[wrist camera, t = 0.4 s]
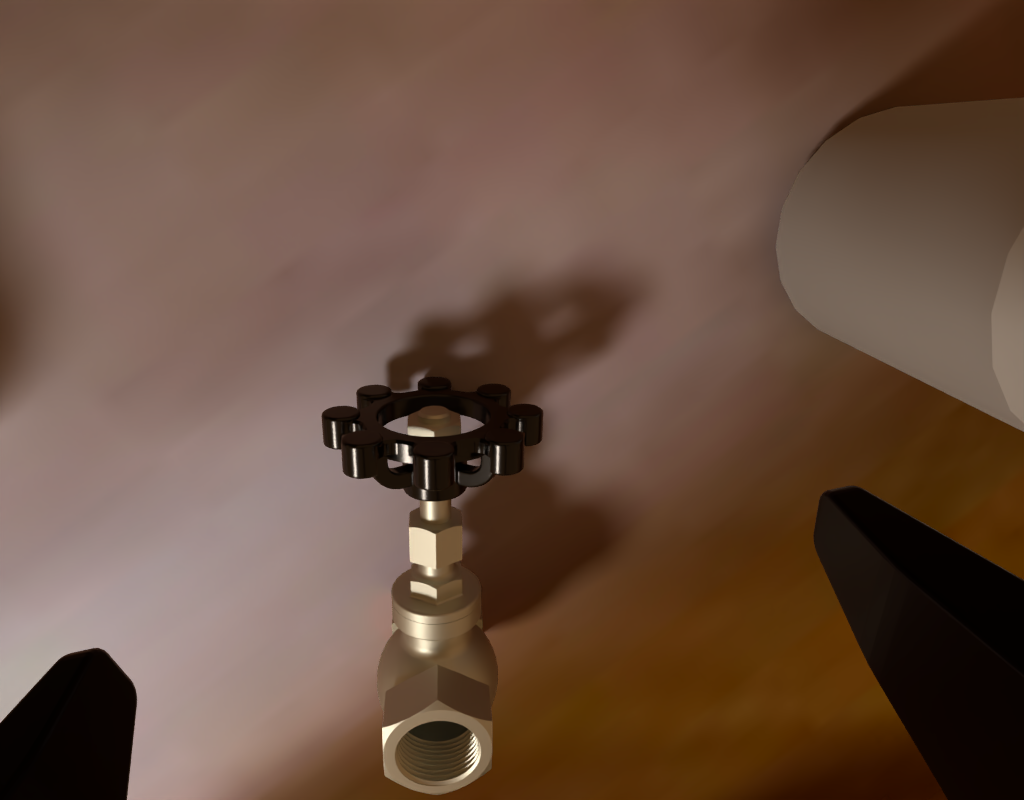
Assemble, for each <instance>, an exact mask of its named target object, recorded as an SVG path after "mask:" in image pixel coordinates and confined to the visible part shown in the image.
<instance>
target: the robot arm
mask: <svg viewBox="0 0 1024 800" xmlns="http://www.w3.org/2000/svg"><path fill="white" fill-rule="evenodd" d="M814 544H815V548H816V551H817V554H818V556H819V558H820V561H821V563H822V565H823V567H824V569H825V572H826V574H827V576H828V578H829V580H830V583H831V585H832V587H833V589H834V591H835V594H836V596H837V598H838V600H839V602H840V605H841V607H842V609H843V611H844V613H845V615H846V618H847V620H848V622H849V624H850V626H851V629H852V631H853V633H854V635H855V637H856V640H857V642H858V644H859V646H860V648H861V650H862V652H863V654H864V656H865V658H866V661H867V663H868V664H869V666H870V668H871V670H872V672H873V673H874V675H875V677H876V679H877V681H878V682H879V684H880V686H881V687H882V689H883V691H884V692H885V694H886V696H887V697H888V699H889V701H890V703H891V704H892V706H893V708H894V709H895V711H896V713H897V714H898V716H899V718H900V719H901V721H902V723H903V724H904V726H905V728H906V730H907V731H908V733H909V735H910V736H911V738H912V740H913V741H914V743H915V745H916V746H917V748H918V750H919V751H920V753H921V755H922V757H923V758H924V760H925V762H926V763H927V765H928V767H929V768H930V770H931V772H932V773H933V775H934V777H935V778H936V780H937V782H938V784H939V785H940V787H941V789H942V790H943V792H944V794H945V795H946V797H947V799H948V800H1024V580H1023V579H1021V578H1019V577H1017V576H1016V575H1014V574H1012V573H1010V572H1009V571H1007V570H1005V569H1003V568H1002V567H1000V566H998V565H996V564H995V563H993V562H991V561H989V560H988V559H986V558H984V557H982V556H980V555H979V554H977V553H975V552H973V551H972V550H970V549H968V548H966V547H965V546H963V545H961V544H959V543H958V542H956V541H954V540H952V539H951V538H949V537H947V536H945V535H944V534H942V533H940V532H938V531H936V530H935V529H933V528H931V527H929V526H928V525H926V524H924V523H922V522H921V521H919V520H917V519H915V518H914V517H912V516H910V515H908V514H907V513H905V512H903V511H901V510H900V509H898V508H896V507H894V506H893V505H891V504H889V503H887V502H885V501H884V500H882V499H880V498H878V497H877V496H875V495H873V494H871V493H870V492H868V491H866V490H864V489H862V488H860V487H857V486H846V487H841V488H837V489H832V490H827V491H825V492H824V493H823V494H822V495H821V496H820V500H819V505H818V511H817V517H816V523H815V529H814ZM136 707H137V694H136V689H135V687H134V684H133V682H132V681H131V680H130V678H129V677H128V676H127V675H126V674H125V673H124V671H123V670H122V669H121V668H120V667H119V666H118V665H117V663H116V662H115V661H114V660H113V659H112V658H111V656H110V655H109V654H108V653H107V652H106V651H105V650H102V649H99V648H93V649H88V650H83V651H79V652H74V653H70V654H67V655H65V656H63V657H62V658H60V659H59V660H58V661H57V662H56V663H55V664H54V665H53V666H52V667H51V668H50V669H49V671H48V672H47V673H46V674H45V675H44V676H43V677H42V678H41V679H40V680H39V681H38V682H37V684H36V685H35V686H34V687H33V688H32V689H31V690H30V691H29V692H28V693H27V694H26V696H25V697H24V698H23V699H22V700H21V701H20V702H19V703H18V704H17V705H16V706H15V707H14V709H13V710H12V711H11V712H10V713H9V714H8V715H7V716H6V717H5V718H4V719H3V721H2V722H1V723H0V800H127V793H128V783H129V774H130V764H131V754H132V745H133V735H134V726H135V716H136Z"/></svg>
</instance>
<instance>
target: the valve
mask: <svg viewBox="0 0 1024 800" xmlns="http://www.w3.org/2000/svg"><path fill="white" fill-rule="evenodd" d="M356 395H357V408H354V407H350V406H337V407H332V408H329V409H327V410H325V411H324V412H323V413H322V429H323V442H324V445H325V446H326V447H329V448H332V449H341V451H342V466H343V472H344V474H345V475H347V476H349V477H351V478H357V479H364V478H371V477H373V478H374V479H375V480H376V481H377V482H379V483H380V484H381V485H383V486H385V487H387V488H390V489H404V491H405V492H406V494H408V495H409V496H410V497H412V498H415V499H417V500H420V507H419V508H417V509H415V510H413V511H411V512H410V517H409V545H410V562H413V564H412V565H411V569H409V570H407V571H405V572H404V573H402V574H401V575H400V576H399V577H398V578H397V579H396V581H395V582H394V584H393V586H392V590H391V596H392V617H393V618H392V636H391V637H390V639H389V640H388V642H387V643H386V645H385V647H384V650H383V652H382V654H381V657H380V661H379V665H378V670H377V691H378V697H379V701H380V704H381V707H382V709H383V711H384V716H383V726H382V734H383V760H384V773H385V776H386V777H388V778H389V779H391V780H393V781H394V782H396V783H398V784H400V785H403V786H405V787H407V788H409V789H412V790H415V791H419V792H423V793H427V794H435V795H440V794H445V793H448V792H451V791H454V790H457V789H459V788H461V787H464V786H466V785H468V784H469V783H471V782H473V781H475V780H476V779H478V778H479V777H481V776H482V775H484V774H485V773H486V772H488V771H489V770H490V769H491V766H492V713H491V706H492V704H493V701H494V698H495V695H496V691H497V684H498V666H497V661H496V656H495V653H494V650H493V647H492V645H491V643H490V641H489V639H488V638H487V636H486V635H485V633H484V632H483V631H482V628H483V619H482V609H481V591H482V587H481V583H480V580H479V579H478V577H477V576H476V575H475V574H474V573H473V572H471V571H470V570H469V569H466V568H464V567H462V566H461V562H459V561H460V560H462V513H461V510H459V509H457V508H455V507H452V506H451V499H453V498H456V497H458V496H460V495H461V494H462V493H463V492H464V491H465V490H466V488H467V487H478V486H482V485H484V484H486V483H487V482H489V481H490V480H491V479H492V478H493V477H494V476H495V475H513V474H516V473H519V472H520V471H521V470H522V469H523V467H524V445H525V446H532V445H536V444H538V443H540V442H541V440H542V431H543V410H542V409H541V408H540V407H538V406H535V405H531V404H516V405H513V406H510V400H511V390H510V389H509V388H508V387H507V386H505V385H501V384H485V385H482V386H480V387H478V389H477V391H475V392H461V391H453V390H451V381H450V380H448V379H446V378H443V377H427V378H423V379H421V380H420V381H419V382H418V390H417V391H412V392H405V393H394V392H392V391H391V389H390V388H389V387H387V386H383V385H368V386H364V387H361V388H359V389H358V390H357V392H356ZM408 415H409V416H408ZM460 415H464V416H468V417H471V418H474V419H476V420H478V421H481V422H482V423H483V424H485V425H484V426H482V427H480V428H478V429H476V430H473V431H470V432H467V433H463V434H461V419H460ZM404 416H408V426H407V427H408V435H406V434H401V433H397V432H394V431H391V430H389V429H387V428H385V427H383V426H384V425H386V424H387V423H389V422H391V421H393V420H395V419H398V418H401V417H404ZM479 457H481V465H480V466H472V465H468V464H467V461H468V460H472V459H476V458H479ZM387 459H389V460H393V461H398V462H402V464H403V466H399V467H396V468H389V467H388V462H387Z"/></svg>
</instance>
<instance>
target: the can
mask: <svg viewBox="0 0 1024 800" xmlns="http://www.w3.org/2000/svg"><path fill="white" fill-rule="evenodd" d="M776 252H777V259H778V266H779V273H780V281H781V283H782V285H783V287H784V288H785V290H786V292H787V294H788V296H789V298H790V300H791V302H792V304H793V306H794V308H795V310H797V311H798V312H799V313H800V314H801V315H802V316H803V317H804V318H806V319H807V320H808V321H809V322H810V323H811V324H812V325H814V326H815V327H816V328H817V329H818V330H820V331H822V332H824V333H826V334H828V335H830V336H832V337H834V338H836V339H838V340H840V341H842V342H844V343H846V344H848V345H850V346H852V347H854V348H856V349H858V350H860V351H862V352H864V353H866V354H868V355H870V356H872V357H874V358H876V359H878V360H880V361H882V362H884V363H886V364H888V365H890V366H892V367H894V368H896V369H898V370H900V371H902V372H904V373H907V374H909V375H911V376H913V377H915V378H917V379H919V380H921V381H923V382H925V383H927V384H929V385H931V386H933V387H935V388H937V389H939V390H941V391H943V392H945V393H947V394H949V395H951V396H953V397H955V398H957V399H959V400H961V401H963V402H965V403H967V404H969V405H971V406H973V407H975V408H977V409H979V410H981V411H983V412H985V413H987V414H989V415H991V416H993V417H995V418H997V419H999V420H1001V421H1003V422H1005V423H1007V424H1009V425H1011V426H1013V427H1015V428H1017V429H1019V430H1021V431H1023V432H1024V97H1022V98H1009V99H995V100H982V101H968V102H955V103H941V104H928V105H914V106H901V107H894V108H891V109H887V110H884V111H881V112H877V113H874V114H871V115H868V116H864V117H861V118H859V119H857V120H856V121H854V122H853V123H851V124H850V125H848V126H847V127H845V128H844V129H842V130H841V131H839V132H838V133H836V134H835V135H834V136H832V137H831V138H829V139H828V140H826V141H825V142H824V143H823V145H822V146H821V147H820V148H819V149H818V150H817V152H816V153H815V154H814V155H813V156H812V158H811V159H810V160H809V161H808V162H807V163H806V165H805V166H804V167H803V168H802V169H801V171H800V172H799V173H798V176H797V178H796V180H795V182H794V184H793V186H792V188H791V190H790V193H789V195H788V197H787V199H786V201H785V203H784V205H783V207H782V211H781V217H780V223H779V229H778V235H777V241H776Z"/></svg>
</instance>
